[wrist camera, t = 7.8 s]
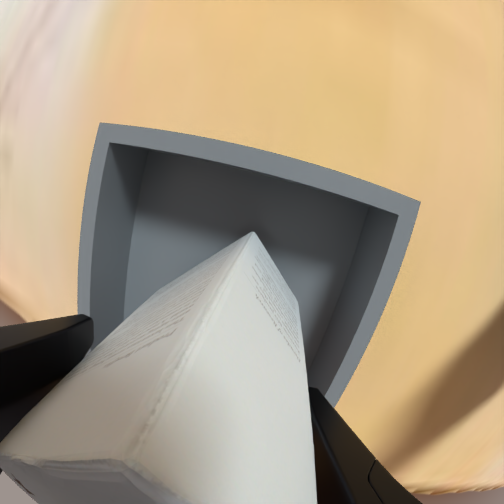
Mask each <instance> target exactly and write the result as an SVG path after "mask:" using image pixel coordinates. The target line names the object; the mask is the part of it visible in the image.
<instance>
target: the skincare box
mask: <svg viewBox="0 0 504 504" xmlns="http://www.w3.org/2000/svg"><path fill="white" fill-rule="evenodd" d="M0 468H1V469H2V470H3V471H4V472H5V473H6V474H7V475H8V476H9V477H10V478H11V479H12V480H13V481H14V482H15V483H16V484H17V485H18V486H19V487H20V488H21V489H23V491H25V492H26V493H27V494H28V495H29V496H30V497H31V498H32V499H34V500H35V501H36V502H37V503H39V504H317V492H316V475H315V460H314V445H313V433H312V423H311V412H310V403H309V392H308V382H307V372H306V363H305V354H304V345H303V337H302V329H301V321H300V313H299V305H298V301H297V300H296V297H295V296H294V294H293V293H292V291H291V290H290V288H289V287H288V285H287V283H286V282H285V280H284V278H283V277H282V275H281V273H280V272H279V270H278V268H277V267H276V265H275V264H274V262H273V260H272V259H271V257H270V255H269V254H268V252H267V251H266V249H265V247H264V246H263V244H262V243H261V241H260V239H259V238H258V236H257V235H256V233H255V232H250V233H248V234H247V235H245V236H243V237H242V238H240V239H239V240H237V241H235V242H234V243H232V244H230V245H229V246H227V247H226V248H224V249H222V250H221V251H219V252H218V253H216V254H214V255H213V256H211V257H210V258H208V259H206V260H205V261H203V262H202V263H200V264H198V265H197V266H195V267H194V268H192V269H191V270H189V271H187V272H186V273H184V274H183V275H181V276H180V277H178V278H177V279H175V280H173V281H172V282H170V283H169V284H167V285H166V286H164V287H162V288H161V289H159V290H158V291H157V292H155V293H154V294H153V295H152V296H151V297H150V298H149V299H148V300H147V301H145V302H144V303H143V304H142V305H141V306H140V307H139V308H138V309H136V310H135V311H134V312H133V313H132V314H131V315H130V316H129V317H128V318H127V319H125V320H124V321H123V322H122V323H121V324H120V325H119V326H118V327H117V328H116V329H115V330H114V331H113V332H112V333H111V334H109V335H108V336H107V337H106V338H105V339H104V340H103V341H102V342H101V343H100V344H99V345H98V346H97V347H96V348H95V349H94V350H92V351H91V352H90V353H89V354H88V355H87V356H86V357H85V358H84V359H83V360H82V361H81V362H80V363H79V364H78V365H77V366H75V367H74V368H73V370H72V371H70V372H69V373H68V374H67V375H66V376H65V377H64V378H63V379H62V380H61V381H60V382H59V383H58V384H57V385H56V386H55V387H54V388H53V389H52V390H51V391H50V392H49V393H48V394H47V395H46V396H45V397H44V398H43V399H42V400H41V401H40V402H39V403H38V404H37V405H36V406H35V407H34V408H32V409H31V410H30V411H29V412H28V413H27V414H26V415H25V416H24V417H23V418H22V420H21V421H20V422H19V423H18V424H17V425H16V426H15V427H14V428H13V429H12V430H11V431H10V432H9V434H8V435H7V436H6V437H5V438H4V439H3V440H2V441H1V443H0Z"/></svg>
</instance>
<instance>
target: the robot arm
mask: <svg viewBox="0 0 504 504" xmlns="http://www.w3.org/2000/svg"><path fill="white" fill-rule="evenodd" d="M93 342H94V321H93V319H92V318H91V317H89V316H87V315H85V314H78V315H72V316H66V317H60V318H54V319H48V320H42V321H36V322H29V323H23V324H17V325H9V326H3V327H0V443H1V441H2V440H3V439H4V438H5V437H6V436H7V435H8V434H9V432H10V431H11V430H12V429H13V428H14V427H15V426H16V425H17V424H18V423H19V422H20V421H21V420H22V418H23V417H24V416H25V415H26V414H27V413H28V412H29V411H30V410H31V409H32V408H34V407H35V406H36V405H37V404H38V403H39V402H40V401H41V400H42V399H43V398H44V397H45V396H46V395H47V394H48V393H49V392H50V391H51V390H52V389H53V388H54V387H55V386H56V385H57V384H58V383H59V382H60V381H61V380H62V379H63V378H64V377H65V376H66V375H67V374H68V373H69V372H70V371H72V370H73V368H74V367H75V366H77V365H78V364H79V363H80V362H81V361H82V360H83V358H84V357H85V355H86V354H87V352H88V351H89V349H90V348H91V346H92V344H93ZM308 392H309V403H310V412H311V423H312V433H313V445H314V460H315V475H316V492H317V504H422V503H421V502H420V501H418V500H417V499H416V498H415V497H414V496H413V495H412V494H411V493H409V492H408V491H407V490H406V489H405V488H404V487H403V486H402V485H401V484H400V483H399V482H398V481H396V480H395V479H394V478H393V477H392V475H391V474H390V473H389V472H388V471H387V470H386V469H385V468H384V467H383V466H382V465H381V463H380V462H379V461H378V460H375V459H376V458H375V457H374V455H373V454H372V453H371V452H370V451H369V450H368V448H367V447H366V446H365V445H364V444H363V443H362V441H361V440H360V439H359V438H358V437H357V435H356V434H355V433H354V432H353V431H352V429H351V428H350V427H349V426H348V425H347V423H346V422H345V421H344V420H343V419H342V417H341V416H340V415H339V414H338V413H337V411H336V410H335V409H334V408H333V406H332V405H331V404H330V403H329V402H328V400H327V399H326V398H325V397H324V395H323V394H322V393H321V392H320V390H319V389H318V388H315V387H310V386H308ZM2 471H3V470H2V469H1V468H0V474H1V472H2Z"/></svg>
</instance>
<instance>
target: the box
mask: <svg viewBox="0 0 504 504" xmlns="http://www.w3.org/2000/svg"><path fill="white" fill-rule="evenodd" d="M420 203H421V202H419V201H417V200H415V199H412V198H410V197H407V196H405V195H402V194H400V193H397V192H394V191H392V190H389V189H387V188H384V187H381V186H378V185H376V184H373V183H370V182H367V181H365V180H362V179H359V178H356V177H353V176H350V175H347V174H344V173H341V172H338V171H335V170H332V169H328V168H325V167H322V166H319V165H315V164H312V163H308V162H305V161H302V160H298V159H294V158H291V157H287V156H283V155H280V154H276V153H272V152H268V151H264V150H260V149H256V148H252V147H248V146H243V145H239V144H234V143H230V142H225V141H220V140H215V139H210V138H205V137H200V136H195V135H189V134H183V133H177V132H171V131H165V130H158V129H151V128H144V127H136V126H128V125H119V124H109V123H100V124H99V128H98V132H97V136H96V140H95V144H94V149H93V154H92V158H91V163H90V169H89V174H88V180H87V186H86V192H85V199H84V206H83V214H82V223H81V233H80V245H79V261H78V314H85V315H87V316H89V317H91V318H92V319H93V321H94V342H93V344H92V346H91V348H90V349H89V351H88V352H87V354H86V355H85V357H86V356H87V355H88V354H89V353H90V352H91V351H92V350H94V349H95V348H96V347H97V346H98V345H99V344H100V343H101V342H102V341H103V340H104V339H105V338H106V337H107V336H108V335H109V334H111V333H112V332H113V331H114V330H115V329H116V328H117V327H118V326H119V325H120V324H121V323H122V322H123V321H124V320H125V319H127V318H128V317H129V316H130V315H131V314H132V313H133V312H134V311H135V310H136V309H138V308H139V307H140V306H141V305H142V304H143V303H144V302H145V301H147V300H148V299H149V298H150V297H151V296H152V295H153V294H154V293H155V292H157V291H158V290H159V289H161V288H162V287H164V286H166V285H167V284H169V283H170V282H172V281H173V280H175V279H177V278H178V277H180V276H181V275H183V274H184V273H186V272H187V271H189V270H191V269H192V268H194V267H195V266H197V265H198V264H200V263H202V262H203V261H205V260H206V259H208V258H210V257H211V256H213V255H214V254H216V253H218V252H219V251H221V250H222V249H224V248H226V247H227V246H229V245H230V244H232V243H234V242H235V241H237V240H239V239H240V238H242V237H243V236H245V235H247V234H248V233H250V232H255V233H256V235H257V236H258V238H259V239H260V241H261V243H262V244H263V246H264V247H265V249H266V251H267V252H268V254H269V255H270V257H271V259H272V260H273V262H274V264H275V265H276V267H277V268H278V270H279V272H280V273H281V275H282V277H283V278H284V280H285V282H286V283H287V285H288V287H289V288H290V290H291V291H292V293H293V294H294V296H295V297H296V300H297V301H298V305H299V313H300V321H301V329H302V337H303V345H304V354H305V363H306V372H307V382H308V386H310V387H315V388H318V389H319V390H320V392H321V393H322V394H323V395H324V397H325V398H326V399H327V400H328V402H329V403H330V404H331V405H332V406H333V408H334V407H335V406H336V404H337V402H338V400H339V399H340V397H341V395H342V393H343V392H344V390H345V388H346V386H347V385H348V383H349V381H350V379H351V377H352V375H353V373H354V372H355V370H356V368H357V366H358V364H359V362H360V360H361V358H362V356H363V354H364V352H365V350H366V348H367V346H368V344H369V342H370V339H371V337H372V335H373V333H374V331H375V329H376V326H377V324H378V322H379V320H380V317H381V315H382V313H383V310H384V308H385V306H386V303H387V301H388V298H389V296H390V293H391V291H392V288H393V286H394V283H395V280H396V278H397V275H398V272H399V270H400V267H401V264H402V261H403V258H404V255H405V252H406V250H407V246H408V243H409V240H410V237H411V234H412V231H413V227H414V224H415V221H416V217H417V214H418V210H419V206H420ZM85 357H84V358H85ZM84 358H83V359H84Z"/></svg>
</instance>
